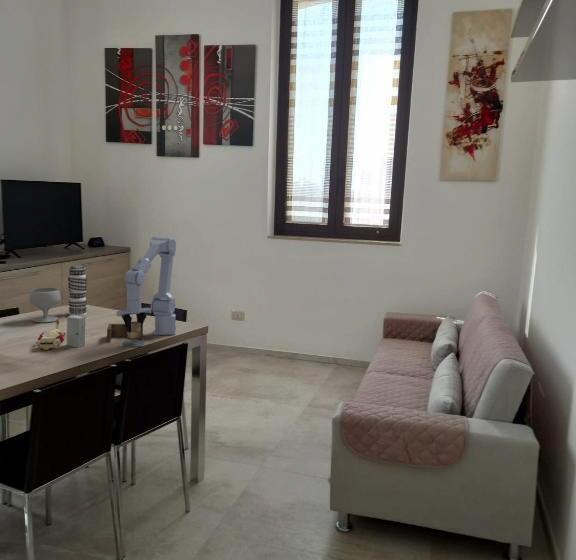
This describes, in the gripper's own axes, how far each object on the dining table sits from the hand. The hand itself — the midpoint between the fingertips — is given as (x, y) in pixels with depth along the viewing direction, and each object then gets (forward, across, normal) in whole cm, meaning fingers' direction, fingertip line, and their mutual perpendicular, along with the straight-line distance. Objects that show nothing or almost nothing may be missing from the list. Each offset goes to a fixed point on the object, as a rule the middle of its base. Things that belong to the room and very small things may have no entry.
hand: (134, 331), depth 231 cm
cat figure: (+6, +27, -20) cm, 34 cm away
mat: (+6, 0, 0) cm, 6 cm away
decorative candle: (+6, -1, -67) cm, 67 cm away
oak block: (+2, 0, 0) cm, 2 cm away
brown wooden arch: (+6, -1, -11) cm, 12 cm away
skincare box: (+6, +20, -12) cm, 24 cm away
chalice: (+6, +16, -62) cm, 64 cm away
